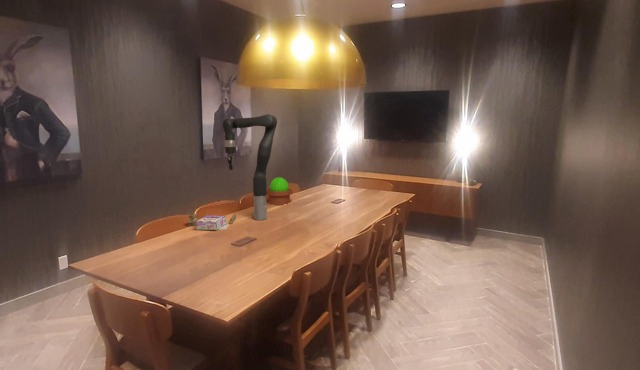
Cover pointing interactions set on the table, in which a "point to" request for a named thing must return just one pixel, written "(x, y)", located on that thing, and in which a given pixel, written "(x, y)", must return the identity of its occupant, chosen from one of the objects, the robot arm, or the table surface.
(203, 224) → the candy box
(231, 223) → the rack
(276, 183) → the potted cactus
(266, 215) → the robot arm
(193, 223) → the offcut stack
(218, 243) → the table surface
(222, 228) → the mat
